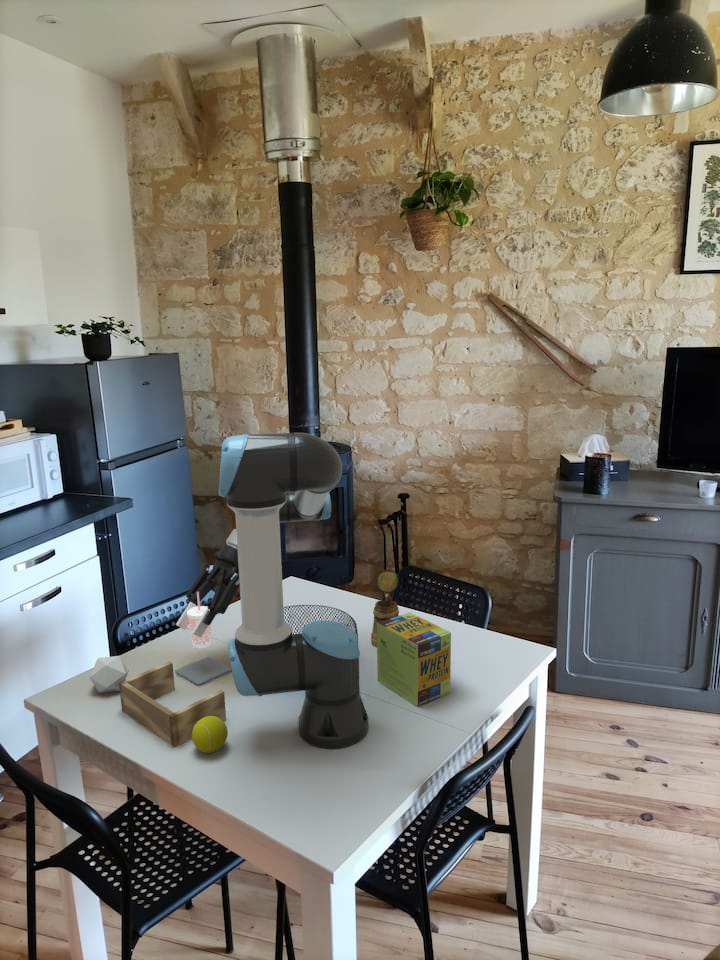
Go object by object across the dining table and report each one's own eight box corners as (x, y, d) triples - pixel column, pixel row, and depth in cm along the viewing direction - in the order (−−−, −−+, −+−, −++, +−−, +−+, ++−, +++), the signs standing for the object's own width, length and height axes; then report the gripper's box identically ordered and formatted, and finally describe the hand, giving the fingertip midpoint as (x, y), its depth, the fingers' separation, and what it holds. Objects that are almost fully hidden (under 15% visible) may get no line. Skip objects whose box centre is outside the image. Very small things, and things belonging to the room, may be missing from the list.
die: (112, 703, 162) (133, 665, 164) (78, 687, 162) (100, 649, 164) (118, 698, 170) (138, 661, 172) (86, 682, 170) (106, 646, 172)
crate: (172, 687, 168) (169, 661, 166) (226, 720, 153) (224, 691, 152) (121, 710, 158) (118, 682, 157) (174, 747, 144) (171, 717, 142)
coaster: (231, 670, 175) (231, 668, 175) (198, 686, 168) (198, 684, 168) (208, 658, 182) (208, 656, 182) (175, 673, 175) (175, 671, 174)
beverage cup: (186, 649, 171) (181, 597, 168) (193, 638, 177) (188, 587, 174) (211, 649, 171) (206, 596, 168) (216, 638, 177) (213, 587, 174)
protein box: (418, 708, 157) (417, 645, 154) (376, 680, 169) (375, 622, 166) (451, 693, 163) (452, 632, 160) (409, 667, 175) (409, 610, 172)
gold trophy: (405, 628, 198) (405, 568, 194) (402, 649, 185) (401, 586, 181) (374, 626, 199) (373, 567, 195) (368, 648, 186) (367, 585, 182)
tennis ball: (211, 735, 148) (208, 706, 146) (235, 745, 144) (233, 715, 143) (186, 752, 142) (183, 722, 141) (210, 763, 139) (208, 732, 137)
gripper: (270, 566, 174) (221, 649, 166) (223, 550, 187) (176, 626, 179) (252, 551, 169) (201, 636, 161) (206, 536, 182) (156, 614, 174)
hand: (188, 631), depth 170 cm, fingers closed on beverage cup, 6 cm apart
